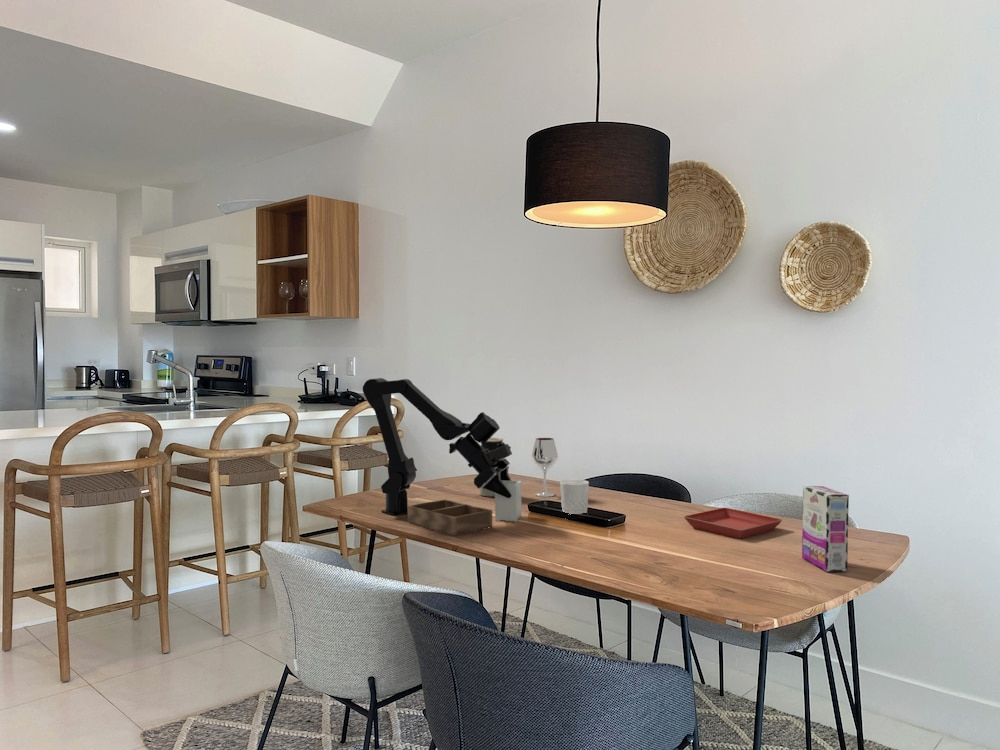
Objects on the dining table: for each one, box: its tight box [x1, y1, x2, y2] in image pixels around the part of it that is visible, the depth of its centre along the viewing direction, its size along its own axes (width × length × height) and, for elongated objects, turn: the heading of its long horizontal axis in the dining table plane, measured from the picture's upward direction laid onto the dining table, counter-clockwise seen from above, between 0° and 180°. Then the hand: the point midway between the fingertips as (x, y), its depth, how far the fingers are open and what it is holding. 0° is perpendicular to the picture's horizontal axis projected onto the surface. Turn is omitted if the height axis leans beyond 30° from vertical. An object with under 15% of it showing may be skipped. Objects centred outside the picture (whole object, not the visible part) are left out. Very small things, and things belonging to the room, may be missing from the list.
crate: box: [407, 498, 493, 536], centre depth 205 cm, size 20×13×5 cm, turn 42°
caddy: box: [494, 480, 522, 522], centre depth 212 cm, size 6×6×10 cm
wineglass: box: [531, 437, 558, 498], centre depth 244 cm, size 8×8×18 cm
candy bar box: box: [801, 485, 850, 573], centre depth 165 cm, size 11×5×16 cm, turn 5°
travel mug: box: [479, 437, 505, 498], centre depth 245 cm, size 8×8×18 cm
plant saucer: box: [683, 507, 783, 539], centre depth 199 cm, size 18×18×3 cm
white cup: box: [559, 478, 590, 520], centre depth 212 cm, size 8×8×10 cm
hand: (513, 494), depth 211 cm, fingers closed on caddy, 6 cm apart
